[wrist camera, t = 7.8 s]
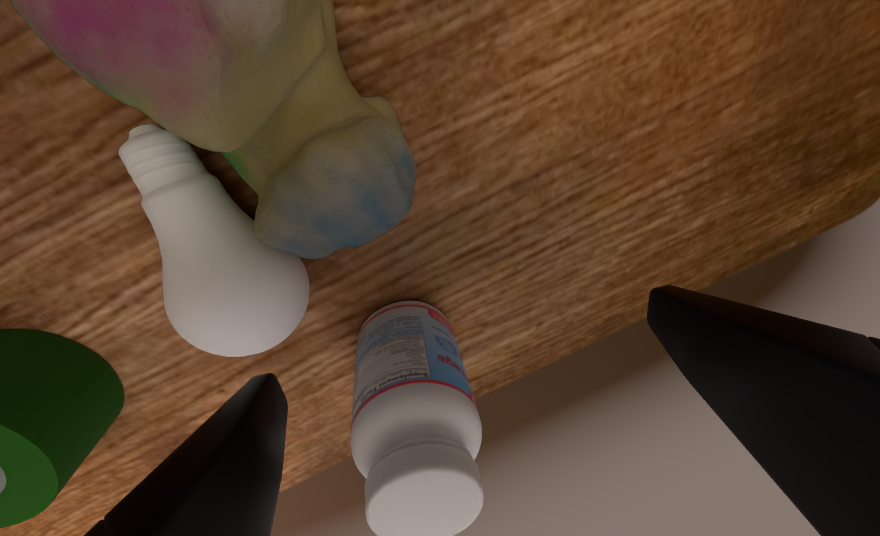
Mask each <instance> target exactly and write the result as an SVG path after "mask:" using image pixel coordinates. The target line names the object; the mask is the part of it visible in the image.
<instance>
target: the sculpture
mask: <svg viewBox="0 0 880 536" xmlns="http://www.w3.org/2000/svg"><path fill="white" fill-rule="evenodd" d="M10 1H11V3H12V4H13V6H14V7H15V9H16V10H17V12H18V13H19V14H20V16H21V17H22V18H23V20H24V21H25V22H26V24H27V25H28V26H29V27H30V28H31V29H32V30H33V31H34V32H35V33H36V35H37V36H38V37H39V38H40V39H41V40H42V41H43V42H44V43H45V44H46V45H47V46H48V47H49V48H50V49H51V50H52V52H53V53H54V54H55V55H56V56H57V57H58V58H59V59H60V60H61V61H63V62H64V63H65V64H66V65H67V66H69V67H70V68H71V69H72V70H73V71H75V72H76V73H77V74H78V75H80V76H81V77H83V78H84V79H85V80H87V81H88V82H90V83H91V84H93V85H94V86H96V87H97V88H99V89H100V90H102V91H103V92H105V93H106V94H108V95H110V96H112V97H113V98H115V99H117V100H119V101H120V102H122V103H124V104H126V105H128V106H130V107H133V108H135V109H137V110H140V111H142V112H144V113H145V114H146V115H148V116H149V117H150V118H152V119H153V120H154V121H156V122H157V123H158V124H160V125H161V126H162V127H164V128H165V129H166V130H168V131H169V132H170V133H172V134H174V135H176V136H178V137H180V138H182V139H184V140H186V141H188V142H190V143H192V144H194V145H196V146H197V147H200V148H204V149H207V150H210V151H217V152H221V153H222V154H223V155H224V157H225V158H226V159H227V160H228V162H229V163H230V164H231V165H232V167H233V168H234V169H235V170H236V172H237V173H238V174H239V175H240V176H241V178H242V179H243V180H244V181H245V182H246V183H247V184H248V185H249V186H250V187H251V188H252V189H253V190H254V191H255V192H256V193H257V195H258V199H259V202H258V206H257V210H256V214H255V221H254V231H255V234H256V236H257V237H258V238H259V239H260V241H261V242H263V243H265V244H267V245H269V246H271V247H274V248H276V249H279V250H283V251H287V252H290V253H293V254H295V255H298V256H301V257H303V258H308V259H321V258H325V257H327V256H329V255H331V254H333V253H334V252H336V251H338V250H339V249H342V248H347V247H357V246H361V245H364V244H366V243H368V242H370V241H372V240H373V239H375V238H377V237H378V236H380V235H382V234H383V233H385V232H387V231H389V230H390V229H391V228H393V227H394V226H395V225H397V224H398V223H399V222H400V221H401V220H402V219H403V218H404V217H405V216H406V215H407V213H408V212H409V210H410V208H411V204H412V198H413V192H414V186H415V180H416V162H415V157H414V155H413V152H412V150H411V148H410V146H409V144H408V143H407V142H406V140H405V137H404V135H403V132H402V129H401V126H400V123H399V121H398V118H397V115H396V113H395V111H394V109H393V107H392V106H391V105H390V103H389V102H388V101H387V100H386V99H384V98H382V97H380V96H373V97H362V96H360V95H359V94H358V92H357V91H356V90H355V88H354V87H353V85H352V84H351V82H350V81H349V79H348V76H347V74H346V72H345V69H344V67H343V64H342V61H341V58H340V55H339V51H338V45H337V37H336V25H335V13H334V6H333V3H332V0H10Z"/></svg>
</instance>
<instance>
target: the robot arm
mask: <svg viewBox="0 0 880 536" xmlns="http://www.w3.org/2000/svg"><path fill="white" fill-rule="evenodd" d="M647 321H648V324H649V326H650V328H651V329H652V331H653V332H654V334H655V335H656V336H657V338H658V339H659V341H660V342H661V344H662V345H663V346H664V348H665V349H666V351H667V352H668V354H669V355H670V357H671V358H672V359H673V361H674V362H675V364H676V365H677V367H678V368H679V369H680V371H681V372H682V373H683V375H684V376H685V377H686V379H687V380H688V381H689V382H690V384H691V385H692V386H693V387H694V388H695V389H696V391H697V392H698V393H699V394H700V395H701V396H702V398H703V399H704V400H705V401H706V402H707V404H708V405H709V406H710V407H711V408H712V409H713V411H714V412H715V413H716V414H717V415H718V416H719V418H720V419H721V420H722V421H723V422H724V423H725V425H727V427H728V428H729V429H730V430H731V431H732V433H733V434H734V435H735V436H736V437H737V438H738V440H739V441H740V442H741V443H742V444H743V446H744V447H745V448H746V449H747V450H748V451H749V453H750V454H751V455H752V456H753V457H754V458H755V460H756V461H757V462H758V463H759V464H760V465H761V467H762V468H763V469H764V470H765V471H766V472H767V474H768V475H769V476H770V477H771V478H772V479H773V480H774V482H775V483H776V484H777V485H778V486H779V487H780V489H781V490H782V491H783V492H784V493H785V494H786V495H787V497H788V498H789V499H790V500H791V501H792V502H793V504H794V505H795V506H796V507H797V508H798V510H799V511H800V512H801V513H802V514H803V515H804V516H805V518H806V519H807V520H808V521H809V522H810V524H811V525H812V526H813V527H814V528H815V529H816V531H817V532H818V533H819V534H820V535H821V536H880V339H878V338H874V337H868V338H867V337H866V336H865V335H862V334H858V333H854V332H850V331H847V330H842V329H839V328H835V327H831V326H827V325H823V324H819V323H815V322H811V321H807V320H804V319H799V318H796V317H792V316H788V315H784V314H781V313H777V312H772V311H769V310H765V309H761V308H757V307H753V306H749V305H745V304H742V303H738V302H734V301H730V300H726V299H722V298H718V297H715V296H711V295H707V294H703V293H699V292H695V291H691V290H687V289H683V288H680V287H676V286H672V285H666V286H661V287H657V288H653V289H652V290H651V291H650V294H649V302H648V311H647ZM287 412H288V404H287V400H286V397H285V395H284V393H283V390H282V388H281V386H280V384H279V382H278V380H277V378H276V376H275V375H274V374H273V373H266V374H262V375H257V376H254V377H253V378H251V379H250V380H249V381H248V382H247V383H246V384H245V385H244V386H243V387H242V388H241V389H240V390H238V391H237V392H236V393H235V394H234V395H233V396H232V397H231V398H230V399H229V400H228V401H227V402H226V403H225V404H224V405H223V406H221V407H220V408H219V409H218V410H217V411H216V412H215V413H214V414H213V415H212V416H211V417H210V418H209V419H208V420H207V421H205V422H204V423H203V424H202V425H201V426H200V427H199V428H198V429H197V430H196V431H195V432H194V433H193V434H192V435H191V436H190V437H188V438H187V439H186V440H185V441H184V442H183V443H182V444H181V445H180V446H179V447H178V448H177V449H176V450H175V451H174V452H172V453H171V454H170V455H169V456H168V457H167V458H166V459H165V460H164V461H163V462H162V463H161V464H160V465H159V466H158V467H156V468H155V469H154V470H153V471H152V472H151V473H150V474H149V475H148V476H147V477H146V478H145V479H144V480H143V481H142V482H140V483H139V484H138V485H137V486H136V487H135V488H134V489H133V490H132V491H131V492H130V493H129V494H128V495H127V496H126V497H124V498H123V499H122V500H121V501H120V502H119V503H118V504H117V505H116V506H115V507H114V508H113V509H112V510H111V511H110V512H108V513H107V514H106V515H105V517H104V520H100V521H99V522H98V523H97V524H96V525H95V526H93V527H92V528H91V529H90V530H89V531H88V532H87V533H86V534H85V535H84V536H270V534H271V529H272V524H273V518H274V514H275V509H276V503H277V498H278V493H279V488H280V483H281V477H282V470H283V460H284V448H285V436H286V424H287Z"/></svg>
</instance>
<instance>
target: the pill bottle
mask: <svg viewBox="0 0 880 536" xmlns="http://www.w3.org/2000/svg"><path fill="white" fill-rule="evenodd" d="M481 439H482V428H481V422H480V418H479V414H478V410H477V407H476V404H475V401H474V398H473V394H472V391H471V387H470V384H469V381H468V378H467V375H466V371H465V368H464V365H463V362H462V359H461V355H460V352H459V349H458V346H457V343H456V340H455V336H454V333H453V330H452V328H451V325H450V323H449V321H448V320H447V318H446V317H445V316H444V314H443V313H442V312H440V311H439V310H438V309H436V308H435V307H433V306H431V305H429V304H426V303H423V302H420V301H401V302H396V303H393V304H390V305H388V306H385V307H383V308H381V309H379V310H378V311H376V312H375V313H373V314H372V315H371V316H370V317H369V318H368V319H367V320H366V321H365V322H364V324H363V325H362V327H361V329H360V332H359V335H358V340H357V351H356V366H355V380H354V396H353V412H352V427H351V450H352V456H353V459H354V462H355V464H356V466H357V468H358V469H359V471H360V472H361V474H362V475H363V476H364V477H365V478H366V482H365V496H366V499H365V512H366V519H367V522H368V525H369V527H370V528H371V529H372V531H373V532H374V533H375V534H376V535H378V536H454V535H456V534H458V533H459V532H461V531H462V530H464V529H465V528H467V527H468V526H469V525H470V524H471V523H472V522H473V521H474V520H475V518H477V516H478V514H479V513H480V511H481V509H482V506H483V490H482V485H481V481H480V478H479V470H478V467H477V464H476V463H475V461H474V459H475V458H476V456H477V454H478V451H479V448H480V445H481Z"/></svg>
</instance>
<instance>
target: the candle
mask: <svg viewBox="0 0 880 536" xmlns="http://www.w3.org/2000/svg"><path fill="white" fill-rule="evenodd" d="M123 401H124V392H123V386H122V384H121V382H120V380H119V378H118V376H117V374H116V373H115V372H114V370H113V369H112V368H111V366H110V365H109V364H108V363H106V362H105V361H104V360H103V359H102V358H101V357H100V356H99V355H97V354H96V353H94V352H93V351H91V350H89V349H88V348H86V347H85V346H83V345H80V344H78V343H76V342H74V341H72V340H70V339H67V338H64V337H61V336H58V335H55V334H51V333H46V332H41V331H36V330H25V329H6V330H0V528H3V527H7V526H11V525H15V524H19V523H21V522H24V521H26V520H28V519H31V518H33V517H35V516H36V515H38V514H39V513H41V512H42V511H44V510H45V509H46V508H47V507H48V506H49V505H50V504H51V503H52V501H53V500H54V499H55V498H56V496H57V495H58V494H59V492H60V491H61V490H62V488H63V487H64V486H65V484H66V483H67V482H68V481H69V479H70V478H71V477H72V475H73V474H74V473H75V471H76V470H77V469H78V467H79V466H80V465H81V464H82V462H83V461H84V460H85V458H86V457H87V456H88V454H89V453H90V452H91V450H92V449H93V448H94V446H95V445H96V444H97V443H98V441H99V440H100V439H101V437H102V436H103V435H104V433H105V432H106V431H107V429H108V428H109V427H110V426H111V424H112V423H113V422H114V420H115V419H116V418H117V416H118V415H119V413H120V411H121V409H122V407H123Z"/></svg>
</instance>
